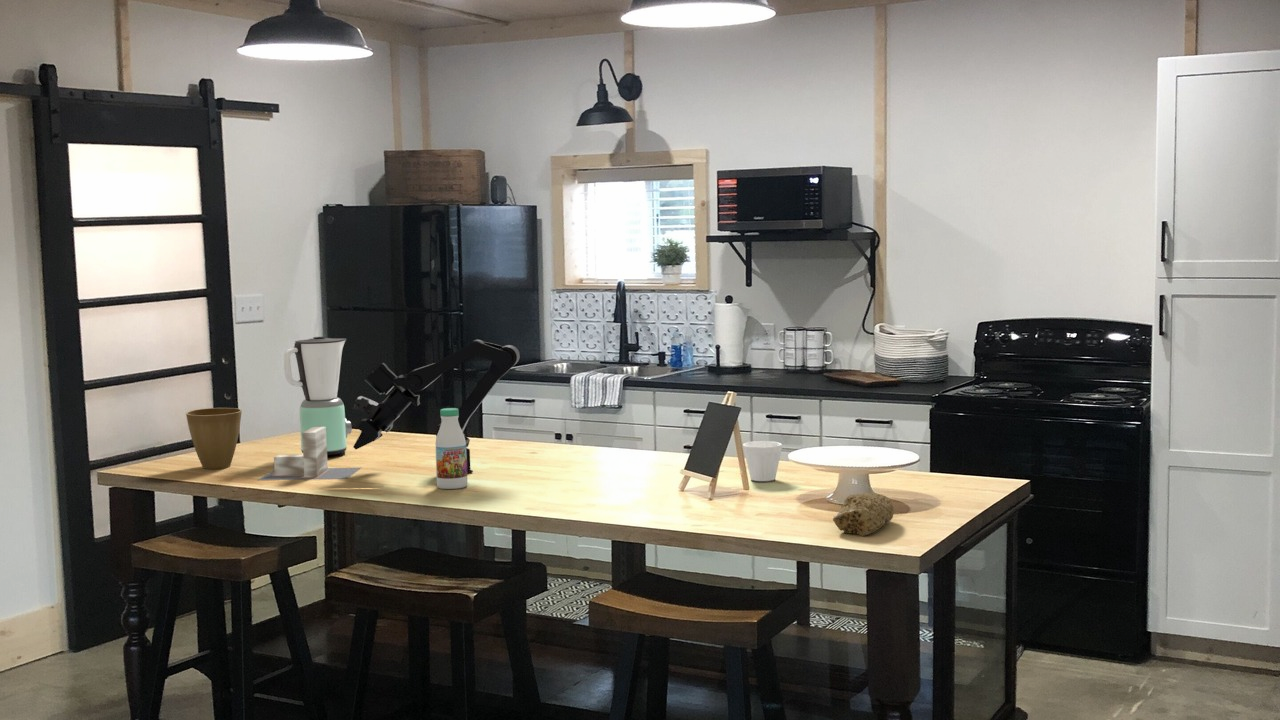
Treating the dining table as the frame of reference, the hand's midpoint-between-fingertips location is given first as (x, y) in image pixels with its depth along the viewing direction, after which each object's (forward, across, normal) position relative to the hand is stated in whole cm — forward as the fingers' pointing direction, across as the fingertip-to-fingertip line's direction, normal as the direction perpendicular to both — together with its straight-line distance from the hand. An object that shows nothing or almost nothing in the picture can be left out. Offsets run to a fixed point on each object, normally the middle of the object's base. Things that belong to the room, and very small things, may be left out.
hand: (354, 448), depth 340 cm
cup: (-71, +18, +83) cm, 110 cm away
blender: (+18, -31, -8) cm, 37 cm away
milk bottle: (-16, +20, +26) cm, 36 cm away
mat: (+14, 0, -4) cm, 14 cm away
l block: (+16, 0, -6) cm, 17 cm away
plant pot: (+36, -15, -26) cm, 47 cm away
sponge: (-83, +69, +96) cm, 144 cm away
